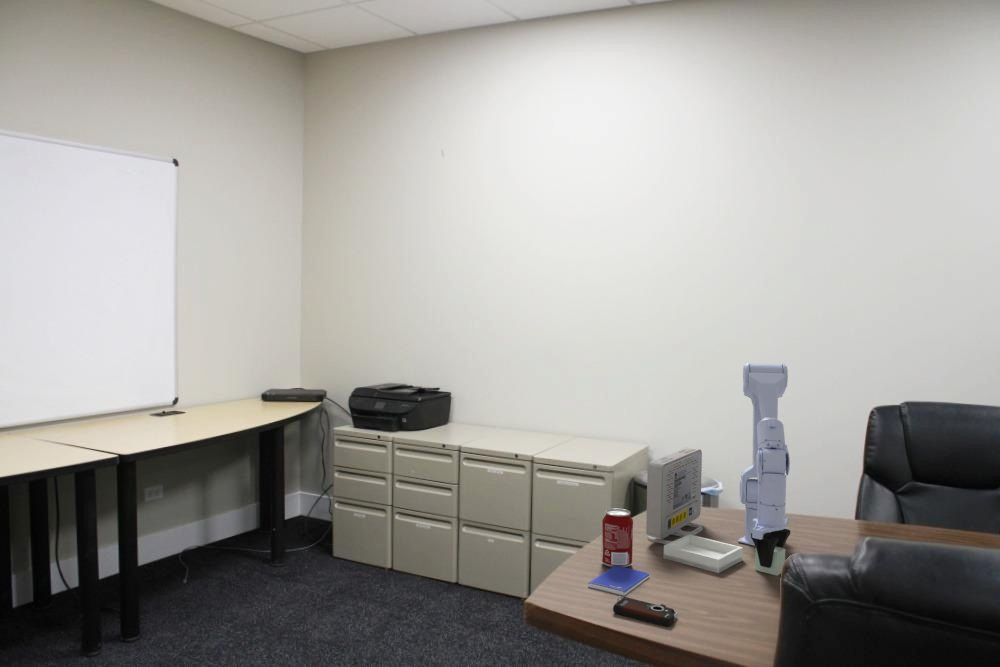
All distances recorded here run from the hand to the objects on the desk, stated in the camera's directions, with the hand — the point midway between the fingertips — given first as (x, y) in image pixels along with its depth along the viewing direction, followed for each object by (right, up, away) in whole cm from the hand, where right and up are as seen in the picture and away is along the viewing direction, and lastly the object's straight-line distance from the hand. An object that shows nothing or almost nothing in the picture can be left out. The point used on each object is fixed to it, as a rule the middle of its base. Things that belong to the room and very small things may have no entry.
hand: (769, 563), depth 169 cm
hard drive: (-34, -2, -8) cm, 35 cm away
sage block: (0, -1, 0) cm, 1 cm away
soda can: (-33, -1, +3) cm, 33 cm away
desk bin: (-13, -1, +7) cm, 15 cm away
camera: (-32, -3, -24) cm, 40 cm away
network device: (-15, 0, +26) cm, 30 cm away
